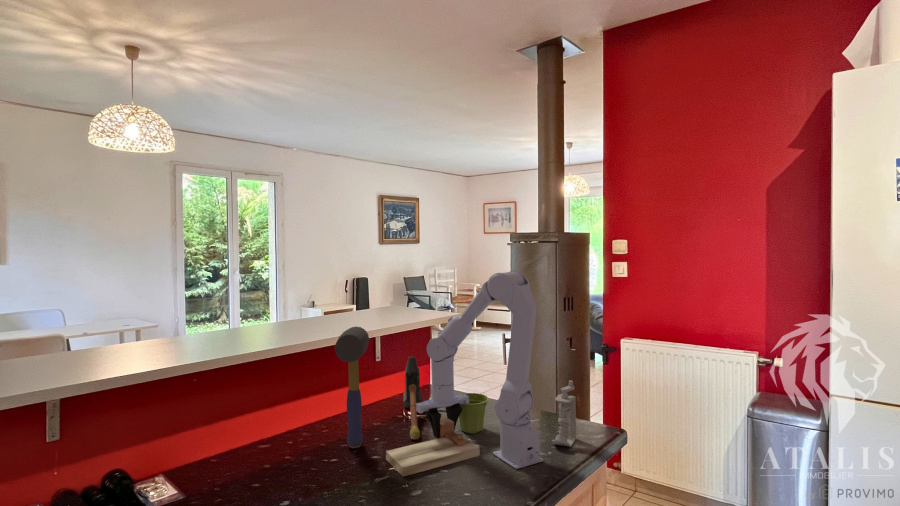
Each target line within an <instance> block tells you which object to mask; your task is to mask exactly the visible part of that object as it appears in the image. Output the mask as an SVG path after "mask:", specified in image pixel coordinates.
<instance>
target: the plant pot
mask: <svg viewBox="0 0 900 506" xmlns="http://www.w3.org/2000/svg"><path fill="white" fill-rule="evenodd" d="M464 394H465V395H467V396H469V403H468V404H465V403H463V404H460V406H461V407H462V412H461V414H460V415H459V417H458V421H459V426H460V431H461V432H465V434H477V433H479V432H482V431H483V430H484V422H485V421H484V420H485V414H486V407H487V403H488V401H489V397H488V396H487V395H485V394H482V393H478V392H477V393H476V392H466V393H460V394H459V395H464Z"/></svg>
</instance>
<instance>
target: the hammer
mask: <svg viewBox="0 0 900 506" xmlns="http://www.w3.org/2000/svg"><path fill="white" fill-rule="evenodd" d="M420 378H421V377H420V368H419V367H418V362H417V358H416V356H408V358H407V362H406V366H405V369H404V384H405V385H404V386H405V387H404V389H405V391H404V392H403V394H402V395H403V396H402V397H403V399H402V400H403V408H406V409H407V408H408V407H410V420H411V422H410V423H411V429H410V430H409V438H410V440H412V439H413V440H419V439H420V437H421V432H420V429H419V427H418V412H417V411H416V404H418V403H422V402H424V401H423V394H422V391H421V389H420V388H421V383H420V381H421V379H420ZM408 409H409V408H408Z"/></svg>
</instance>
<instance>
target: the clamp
mask: <svg viewBox="0 0 900 506" xmlns="http://www.w3.org/2000/svg"><path fill="white" fill-rule="evenodd" d="M574 390H575V385H574V382H573V380H568V385H567V386H564V387H561V388H560V392H561V393H559V394H557V396H556V397H555V398H554V400H555V402H558V405H559V406H558V409H559V411H558V419H557V424H558V425H559V426H557V428H558V430H557V431H556V432H557V433H558V434H557V435H556V436H555V439H551V443H552V444H553V445H557V446H562V447H563V446H564V447H568V448H571V447H572V446H573V445H574V443H575V441H576V440H577V415H576V414H577V413H576V410H577V408H576V407H577V406H576V405H577V403H576V402H577V401H576V399H577V398H576V395H575V396H574V395H569V394H568V392H571V391H574ZM569 428H570V429H569ZM568 429H569V431H570V433H569V438H568V434H567V433H568V432H569V431H568Z"/></svg>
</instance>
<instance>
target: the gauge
mask: <svg viewBox="0 0 900 506" xmlns="http://www.w3.org/2000/svg"><path fill="white" fill-rule="evenodd" d="M443 437H447V438H448V439H450V440H451V441H452V442H454V443H455V444H457V445H458V446H462V445H465V439H464V438H465V437H464V434H462V433H456V432H455V431H454V422H453V421H451V420H450V419H448V418H447V416H444V417H441V419H440V438H443ZM463 437H464V438H463ZM433 438H434V439H438V438H436V437H435V436H434V435H433ZM434 439H433V440H434Z"/></svg>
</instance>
